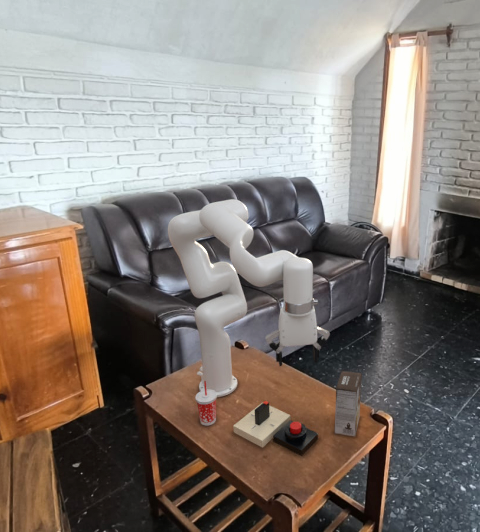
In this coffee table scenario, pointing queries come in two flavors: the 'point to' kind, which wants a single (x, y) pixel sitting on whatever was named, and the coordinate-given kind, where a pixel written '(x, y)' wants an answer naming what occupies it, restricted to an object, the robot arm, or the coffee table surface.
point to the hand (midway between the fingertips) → (297, 361)
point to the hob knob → (262, 413)
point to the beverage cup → (206, 406)
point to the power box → (295, 439)
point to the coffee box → (348, 403)
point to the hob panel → (261, 426)
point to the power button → (295, 427)
